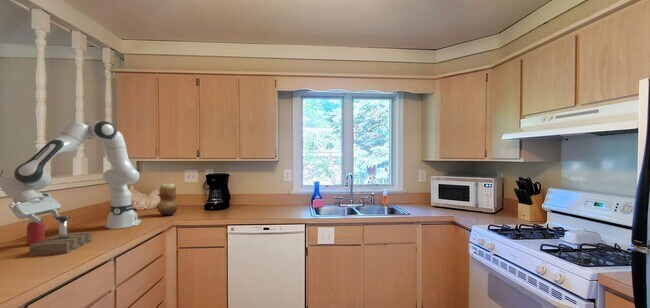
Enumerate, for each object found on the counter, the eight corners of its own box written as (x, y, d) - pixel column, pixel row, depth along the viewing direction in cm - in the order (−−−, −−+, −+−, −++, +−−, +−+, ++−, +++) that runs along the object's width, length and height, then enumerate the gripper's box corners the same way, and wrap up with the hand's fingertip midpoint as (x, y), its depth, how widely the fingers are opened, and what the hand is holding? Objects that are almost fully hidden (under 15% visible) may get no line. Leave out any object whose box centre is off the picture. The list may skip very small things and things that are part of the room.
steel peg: (60, 246, 145) (60, 215, 145) (73, 245, 146) (73, 215, 146) (52, 250, 140) (52, 218, 140) (65, 249, 141) (65, 217, 141)
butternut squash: (155, 217, 212) (155, 184, 212) (161, 213, 225) (161, 183, 225) (175, 216, 215) (175, 184, 215) (180, 212, 228) (180, 182, 228)
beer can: (43, 241, 154) (43, 219, 154) (45, 243, 150) (45, 221, 150) (26, 244, 149) (26, 221, 149) (27, 246, 145) (27, 223, 145)
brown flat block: (59, 242, 151) (59, 233, 151) (91, 240, 154) (91, 231, 154) (29, 255, 131) (29, 245, 132) (66, 253, 135) (66, 243, 135)
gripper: (11, 199, 132) (33, 219, 132) (52, 193, 152) (70, 211, 153) (1, 208, 132) (23, 229, 132) (43, 201, 152) (62, 219, 153)
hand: (49, 219), depth 143 cm, fingers open, 8 cm apart
